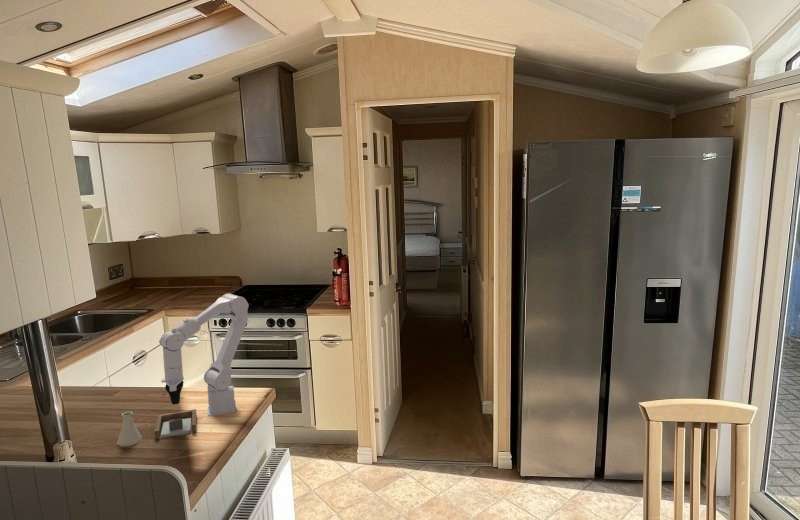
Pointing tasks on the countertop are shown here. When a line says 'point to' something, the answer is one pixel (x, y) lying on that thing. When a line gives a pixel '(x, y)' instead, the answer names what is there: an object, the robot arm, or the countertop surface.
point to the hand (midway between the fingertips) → (175, 403)
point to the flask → (128, 431)
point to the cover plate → (176, 432)
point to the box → (175, 415)
